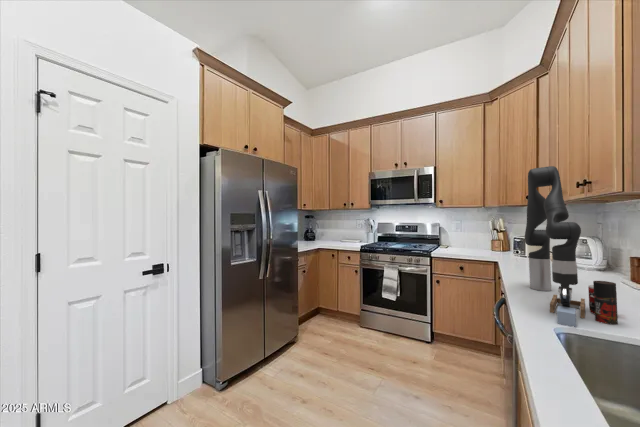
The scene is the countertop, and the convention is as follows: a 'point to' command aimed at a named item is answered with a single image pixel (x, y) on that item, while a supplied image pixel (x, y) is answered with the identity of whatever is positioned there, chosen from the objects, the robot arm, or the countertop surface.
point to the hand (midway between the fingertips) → (566, 314)
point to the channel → (578, 303)
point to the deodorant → (605, 302)
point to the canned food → (592, 298)
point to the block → (566, 316)
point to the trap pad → (571, 306)
